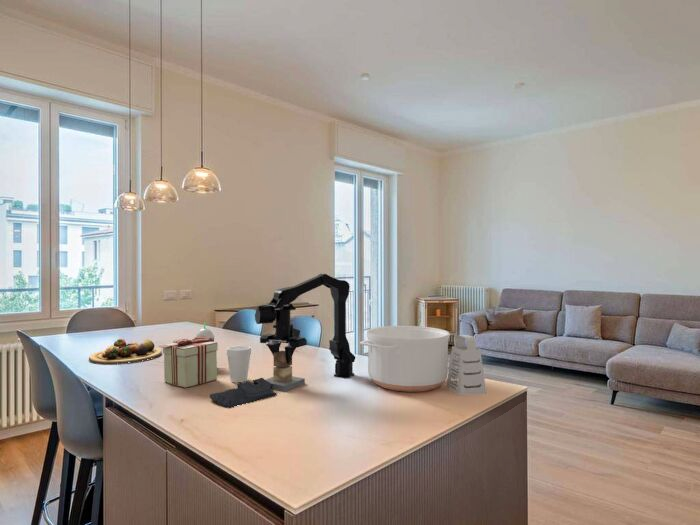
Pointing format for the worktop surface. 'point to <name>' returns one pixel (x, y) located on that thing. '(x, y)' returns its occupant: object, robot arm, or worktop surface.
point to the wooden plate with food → (126, 352)
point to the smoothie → (205, 333)
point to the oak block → (282, 374)
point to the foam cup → (238, 362)
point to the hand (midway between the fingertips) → (282, 362)
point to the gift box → (190, 361)
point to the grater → (466, 367)
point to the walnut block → (281, 359)
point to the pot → (407, 357)
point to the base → (286, 383)
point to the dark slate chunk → (244, 393)
